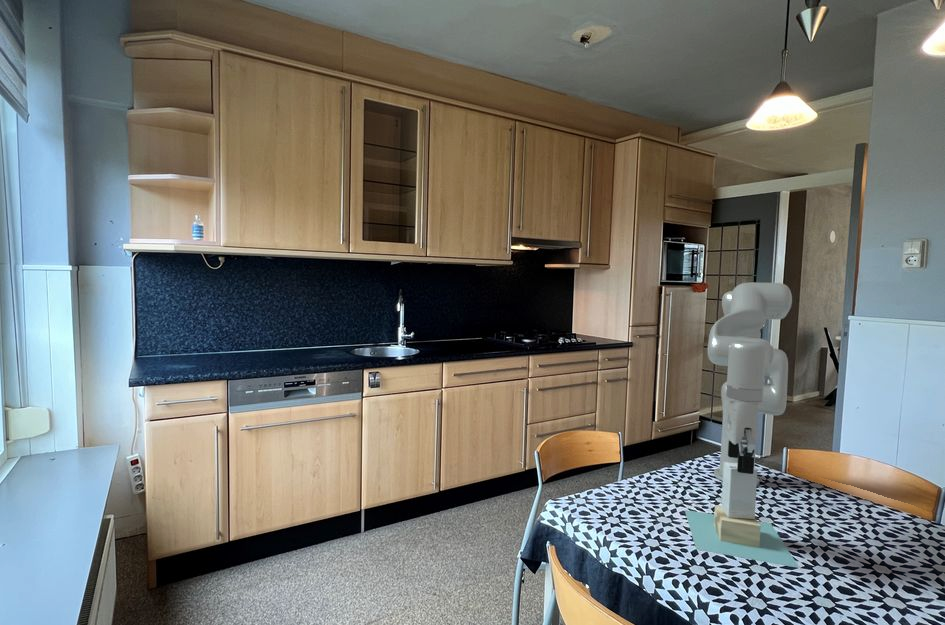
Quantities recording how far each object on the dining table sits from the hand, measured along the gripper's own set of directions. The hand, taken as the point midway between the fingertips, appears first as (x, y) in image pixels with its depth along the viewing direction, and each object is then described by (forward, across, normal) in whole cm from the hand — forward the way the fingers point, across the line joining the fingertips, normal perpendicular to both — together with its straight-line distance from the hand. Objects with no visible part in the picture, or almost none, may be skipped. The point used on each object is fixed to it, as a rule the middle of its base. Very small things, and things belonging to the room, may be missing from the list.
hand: (739, 464), depth 111 cm
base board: (+18, +1, 0) cm, 18 cm away
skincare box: (+12, +1, 0) cm, 12 cm away
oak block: (+17, +1, 0) cm, 17 cm away
